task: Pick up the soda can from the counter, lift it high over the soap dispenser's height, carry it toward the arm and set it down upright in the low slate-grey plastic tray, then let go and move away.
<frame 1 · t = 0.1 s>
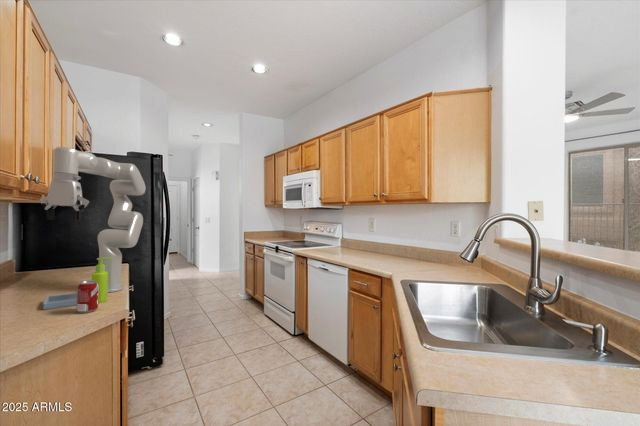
hand: (63, 220, 114), 37 cm above the countertop, tool pointing down, fingers open, 9 cm apart
slate tray: (65, 303, 124), on the countertop
soap dispenser: (100, 302, 128), on the countertop
soda can: (87, 311, 116), on the countertop
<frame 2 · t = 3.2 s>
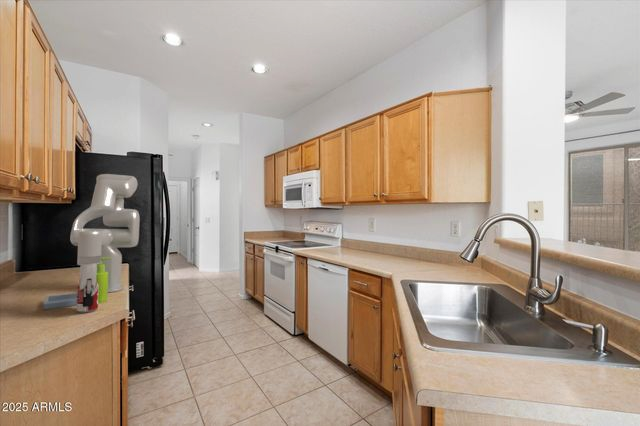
hand: (87, 303, 116), 3 cm above the countertop, tool pointing down, fingers closed on soda can, 6 cm apart
soda can: (87, 311, 116), on the countertop, touching gripper
everything else where it was.
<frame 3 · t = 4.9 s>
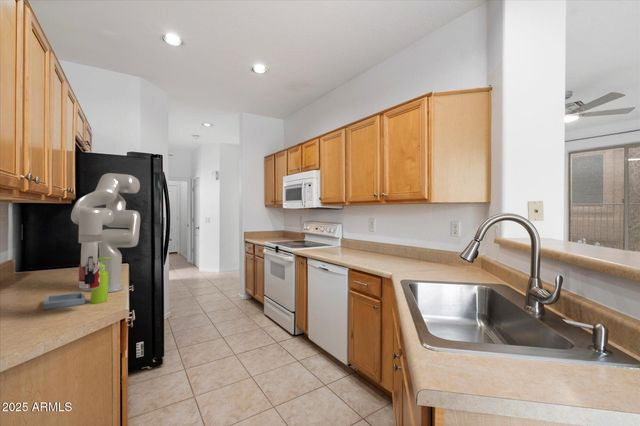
hand: (89, 281, 117), 12 cm above the countertop, tool pointing down, fingers closed on soda can, 6 cm apart
soda can: (89, 289, 117), point 9 cm above the countertop, touching gripper
everything else where it was.
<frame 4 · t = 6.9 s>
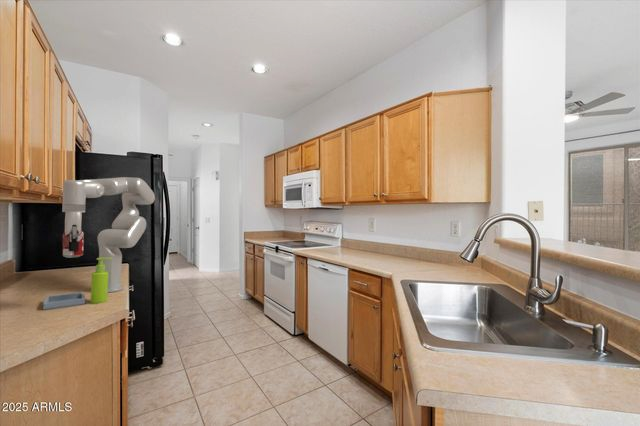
hand: (73, 249, 122), 24 cm above the countertop, tool pointing down, fingers closed on soda can, 6 cm apart
soda can: (73, 257, 123), point 21 cm above the countertop, touching gripper
everything else where it was.
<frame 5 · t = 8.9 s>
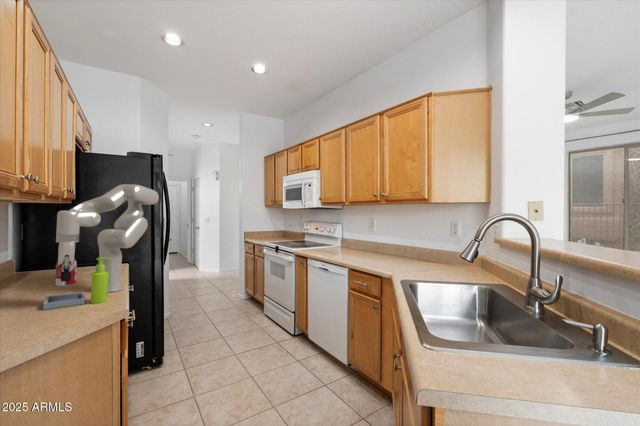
hand: (66, 278, 124), 11 cm above the countertop, tool pointing down, fingers closed on soda can, 6 cm apart
soda can: (65, 286, 124), point 7 cm above the countertop, touching gripper
everything else where it was.
when the fingers open (5 cm above the countertop, at t = 10.4 s): soda can drops 1 cm, resting on slate tray.
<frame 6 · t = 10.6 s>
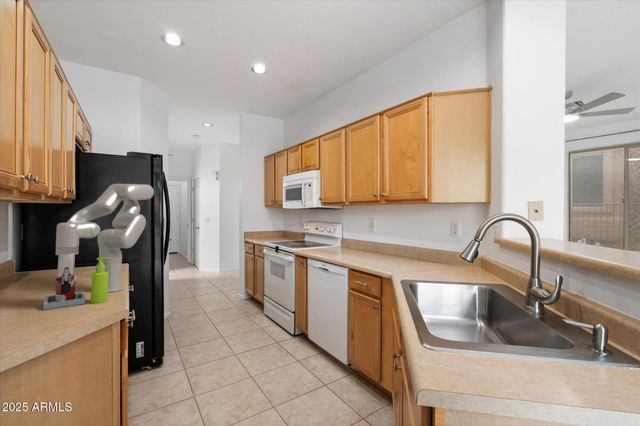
hand: (65, 290, 124), 6 cm above the countertop, tool pointing down, fingers open, 7 cm apart
soda can: (65, 300, 125), point 1 cm above the countertop, touching gripper, slate tray
everything else where it was.
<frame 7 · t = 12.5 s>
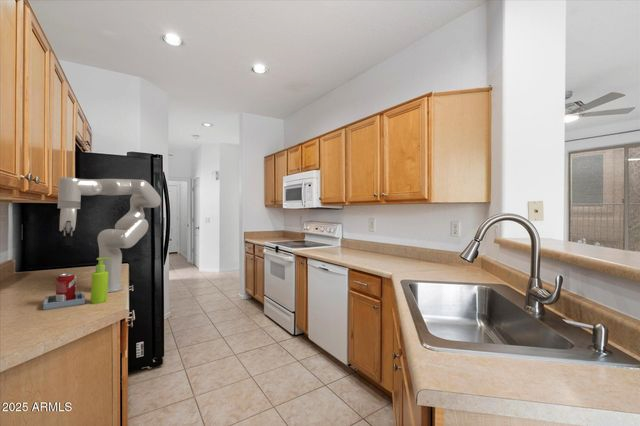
hand: (67, 244, 124), 26 cm above the countertop, tool pointing down, fingers open, 9 cm apart
soda can: (65, 301, 125), resting on slate tray
everything else where it was.
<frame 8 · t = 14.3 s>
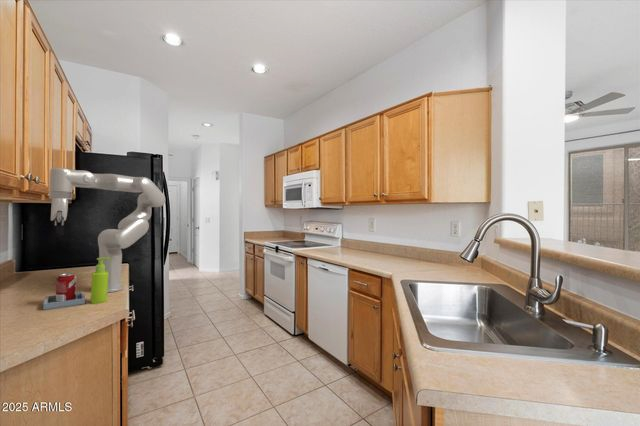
hand: (59, 233, 126), 30 cm above the countertop, tool pointing down, fingers open, 9 cm apart
nothing on the countertop moved.
at the end: soda can 1.4 cm off-centre on the slate tray, point 0.3 cm above the slate tray's base; soda can tilted 0°; the gripper is holding nothing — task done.
